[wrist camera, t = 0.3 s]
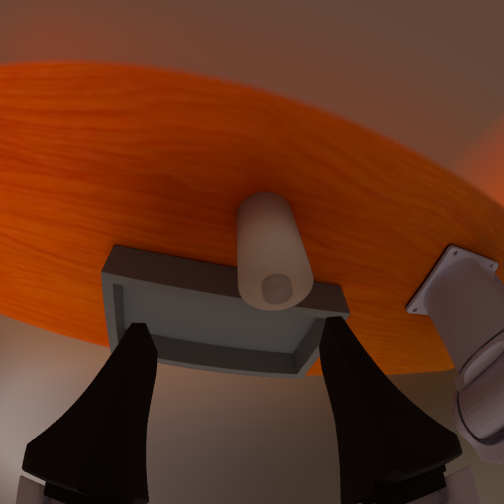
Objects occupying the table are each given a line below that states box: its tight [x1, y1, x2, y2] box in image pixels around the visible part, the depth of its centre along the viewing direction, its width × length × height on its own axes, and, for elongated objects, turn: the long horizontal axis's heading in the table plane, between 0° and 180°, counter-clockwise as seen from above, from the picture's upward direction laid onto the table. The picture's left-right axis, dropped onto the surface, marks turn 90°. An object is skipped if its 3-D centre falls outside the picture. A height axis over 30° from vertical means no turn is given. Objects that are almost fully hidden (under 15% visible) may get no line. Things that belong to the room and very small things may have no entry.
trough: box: [101, 245, 351, 379], centre depth 23 cm, size 18×10×3 cm, turn 74°
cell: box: [237, 192, 313, 311], centre depth 16 cm, size 4×4×7 cm
